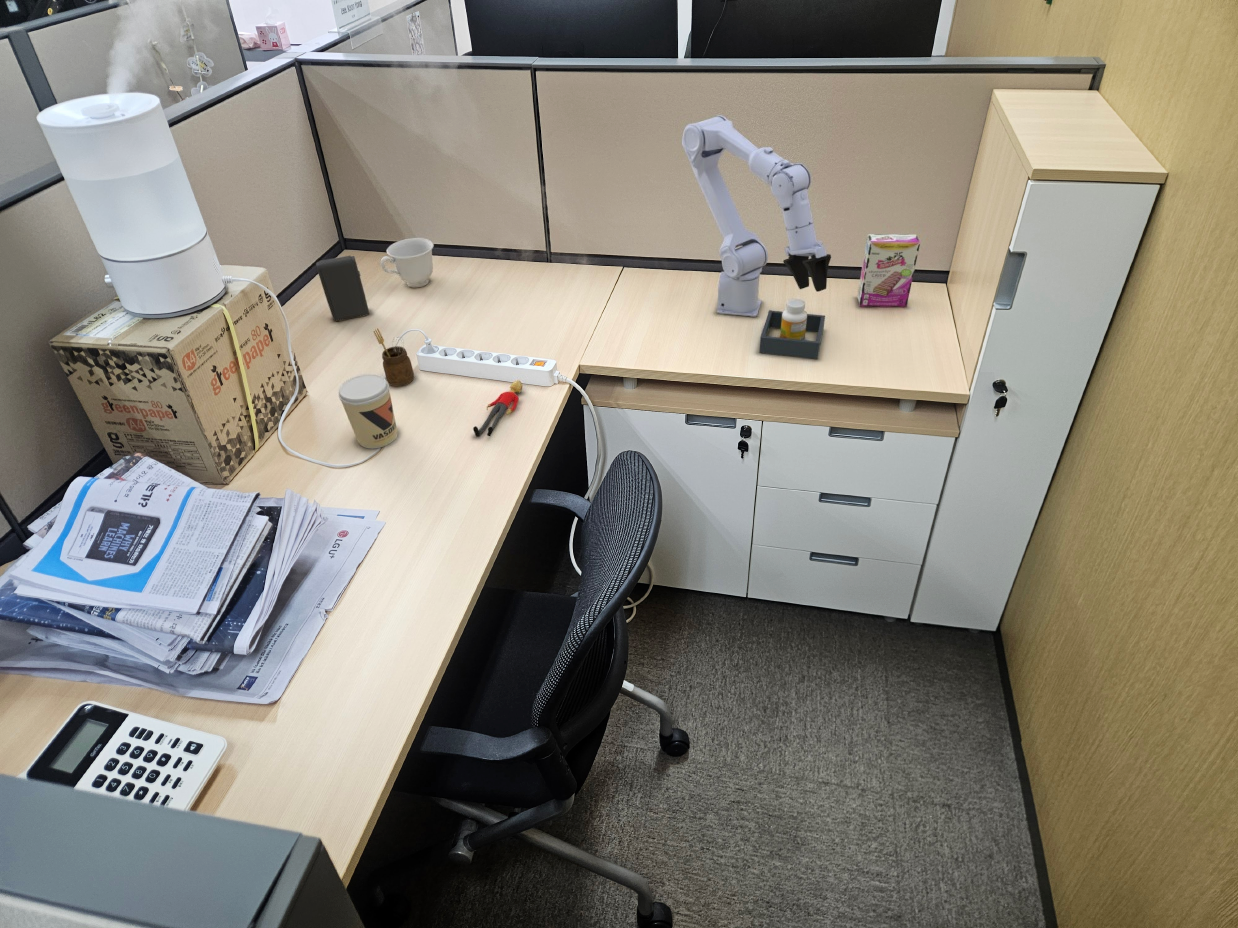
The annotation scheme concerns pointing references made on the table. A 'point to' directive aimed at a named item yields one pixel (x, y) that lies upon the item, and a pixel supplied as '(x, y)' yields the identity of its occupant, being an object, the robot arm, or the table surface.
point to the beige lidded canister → (369, 409)
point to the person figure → (500, 408)
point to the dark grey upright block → (343, 287)
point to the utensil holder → (396, 363)
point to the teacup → (411, 260)
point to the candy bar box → (888, 270)
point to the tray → (791, 345)
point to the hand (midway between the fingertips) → (812, 289)
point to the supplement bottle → (794, 320)
